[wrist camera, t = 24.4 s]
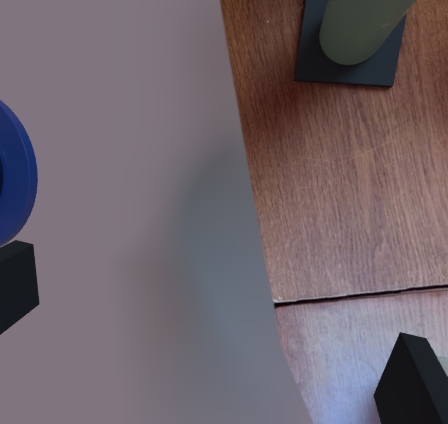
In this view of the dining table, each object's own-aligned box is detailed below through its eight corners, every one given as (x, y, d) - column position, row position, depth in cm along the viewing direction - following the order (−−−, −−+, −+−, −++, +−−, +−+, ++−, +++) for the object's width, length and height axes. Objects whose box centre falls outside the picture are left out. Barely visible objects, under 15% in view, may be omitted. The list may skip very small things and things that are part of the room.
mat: (294, 80, 34) (294, 79, 33) (308, -19, 32) (308, -22, 32) (391, 87, 32) (393, 86, 32) (410, -17, 31) (412, -20, 30)
